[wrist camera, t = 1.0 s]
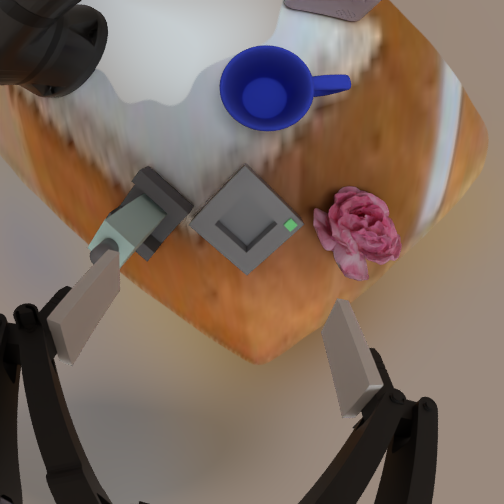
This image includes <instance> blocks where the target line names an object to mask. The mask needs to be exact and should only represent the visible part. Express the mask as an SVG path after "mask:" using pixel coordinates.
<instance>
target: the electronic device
mask: <svg viewBox="0 0 504 504" xmlns="http://www.w3.org/2000/svg"><path fill="white" fill-rule="evenodd" d="M380 1H381V0H284V3H285V4H286V5H287V6H288V7H290V8H292V9H297V10H303V11H309V12H314V13H319V14H324V15H328V16H333V17H337V18H341V19H345V20H348V21H358V20H360V19H361V18H363V17H364V16H365V15H366V14H367V13H368V12H369V11H370V10H371V9H372V8H373V7H374V6H376V5H377V4H378V3H379V2H380Z"/></svg>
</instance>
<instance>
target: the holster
mask: <svg viewBox="0 0 504 504" xmlns="http://www.w3.org/2000/svg"><path fill="white" fill-rule="evenodd" d="M132 182H133V183H134V184H135V185H134V187H133V188H132V189H131V191H130V192H129V194H128V195H127V196H126V198H125V199H124V201H123V202H122V203H121V205H120V206H119V207H118V208H116V209H115V210H113V211H112V212H110V213H109V215H108V216H107V218H108V217H109V216H111V215H112V214H114V213H115V212H117V211H118V210H120V209H121V208H122V207H124V206H125V205H127V204H128V203H130V202H131V201H133V200H134V199H136V198H137V197H139V196H141V195H142V194H144V193H145V194H146V195H147V196H148V197H150V198H151V199H152V200H153V201H154V202H155V203H156V204H157V205H158V206H160V207H161V208H162V209H163V210H164V211H165V212H166V213H167V215H166V216H165V217H164V219H163V220H162V221H161V222H160V223H159V225H158V226H157V227H156V228H155V230H154V231H153V232H152V233H151V234H150V235H149V236H148V237H147V238H146V240H145V241H144V242H143V243H142V244H141V245H140V246H139V247H138V248H137V250H136V252H137V253H138V254H139V255H140V256H141V257H143V258H144V259H145V260H146V261H148V260H149V259H150V258H151V256H152V255H153V254H154V253H155V251H156V250H157V249H158V247H159V246H160V245H161V244H162V242H163V241H164V240H165V239H166V238H167V236H168V235H169V234H170V233H171V232H172V231H173V230H174V228H175V227H176V226H177V225H178V224H180V223H181V221H182V220H183V219H184V218H185V217H186V216H187V215H188V214H189V212H190V211H191V210H192V208H193V207H194V206H192V205H191V204H190V203H189V202H188V201H187V200H186V199H185V198H184V197H182V196H181V195H180V194H179V193H178V192H177V191H176V190H175V189H174V188H172V187H171V186H170V185H169V184H168V183H167V182H166V181H165V180H163V179H162V178H161V177H160V176H159V175H158V174H157V173H156V172H155V171H153V170H152V169H151V168H150V167H149V166H148V167H146V168H144V169H141V170H140V171H139V172H138V173H137V175H136V176H135V177H134V179H133V180H132ZM107 218H106V219H107Z"/></svg>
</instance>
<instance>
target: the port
mask: <svg viewBox="0 0 504 504" xmlns="http://www.w3.org/2000/svg"><path fill="white" fill-rule="evenodd" d="M303 225H304V223H303V221H302V219H301V217H300V216H299V215H298V214H297V213H296V212H295V211H294V210H293V209H292V208H291V207H290V206H289V205H288V204H287V203H286V202H285V201H284V200H283V199H282V198H281V197H280V196H279V195H278V194H277V193H276V192H275V191H274V190H273V189H272V188H271V187H270V186H269V185H268V184H267V183H266V182H265V181H264V180H263V179H262V178H261V177H260V176H259V175H258V174H256V173H255V172H254V171H253V170H252V169H251V168H250V167H249V166H248V165H247V164H245V165H244V166H243V167H242V168H241V169H240V170H239V171H238V172H237V173H236V174H235V175H234V176H233V177H232V178H231V179H230V180H229V181H228V182H227V183H226V184H225V185H224V186H223V187H222V188H221V189H220V190H219V191H218V192H217V193H216V194H215V195H214V197H213V198H212V199H211V200H210V201H209V202H208V203H207V204H206V205H205V206H204V207H203V208H202V209H201V210H200V211H199V213H198V214H197V215H196V216H195V217H194V218H193V219H192V221H191V222H190V224H189V226H191V227H192V228H193V229H194V230H195V231H196V232H197V233H199V234H200V235H201V236H202V237H203V238H204V239H205V240H207V241H208V242H209V243H210V244H211V245H212V246H213V247H215V248H216V249H217V250H218V251H219V252H220V253H221V254H223V255H224V256H225V257H226V258H227V259H228V260H230V261H231V262H232V263H233V264H234V265H235V266H237V267H238V268H239V269H240V270H241V271H242V272H244V273H245V274H246V275H248V274H249V273H250V272H251V271H252V270H254V269H255V268H256V267H257V266H258V265H259V264H260V263H261V262H263V261H264V260H265V259H266V258H267V257H268V256H269V255H270V254H272V253H273V252H274V251H275V250H276V249H277V248H278V247H279V246H281V245H282V244H283V243H284V242H285V241H286V240H287V239H288V238H290V237H291V236H292V235H293V234H294V233H295V232H296V231H297V230H298V229H300V228H301V227H302V226H303Z"/></svg>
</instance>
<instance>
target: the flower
mask: <svg viewBox="0 0 504 504" xmlns="http://www.w3.org/2000/svg"><path fill="white" fill-rule="evenodd" d="M388 215H389V209H388V207H387V205H386V203H385V202H384V201H382V200H380V199H379V198H378V197H376V196H374V195H373V194H371V193H367V192H366V191H360V190H359V189H358V188H356V187H343V188H341V189H340V190H339V191H338V193H337V194H335V195H334V204H333V205H332V206H331V208H330V209H329V212H328V214H327V213H326V212H324V211H322V210H320V209H318V208H315V209H314V228H315V230H316V233H317V235H318V238H319V240H320V242H321V244H322V246H323V248H324V249H325V250H327V251H329V250H331V251H333V253H334V258H335V261H336V263H337V264H338V266H339V268H340V269H341V271H342V272H343V274H344V276H346V277H348V278H350V279H354V280H357V281H362V280H368V279H369V275H368V270H367V263H366V260H365V258H366V259H367V260H370V261H373V262H376V263H378V264H380V265H382V264H385V263H386V262H388V261H389V260H393V261H394V260H396V259H397V258H398V257H399V255H400V251H401V246H402V244H401V242H400V236H399V235H397V231H396V230H395V226H394V223H393V221H392V220H391V218H389V217H388Z"/></svg>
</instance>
